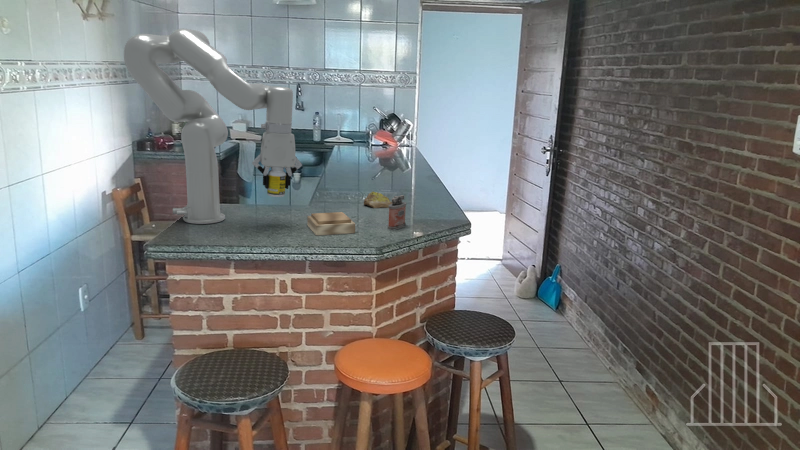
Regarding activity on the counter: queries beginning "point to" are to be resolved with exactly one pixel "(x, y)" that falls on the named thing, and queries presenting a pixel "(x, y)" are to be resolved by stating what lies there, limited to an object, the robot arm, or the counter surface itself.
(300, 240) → the counter surface
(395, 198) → the lighter
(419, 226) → the counter surface
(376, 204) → the rock
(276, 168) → the supplement bottle
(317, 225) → the plinth
